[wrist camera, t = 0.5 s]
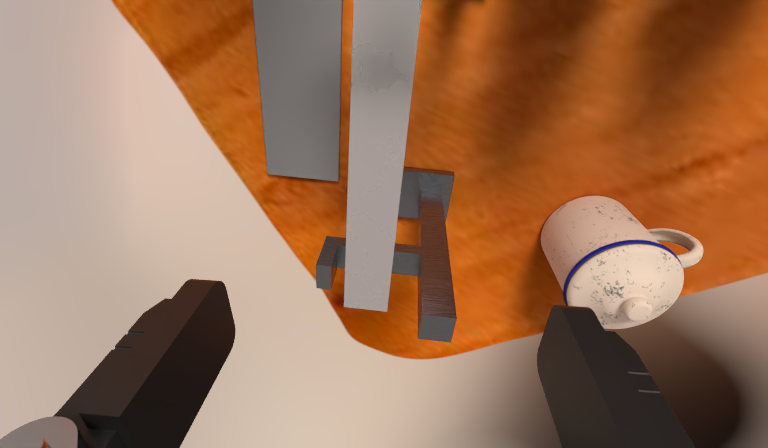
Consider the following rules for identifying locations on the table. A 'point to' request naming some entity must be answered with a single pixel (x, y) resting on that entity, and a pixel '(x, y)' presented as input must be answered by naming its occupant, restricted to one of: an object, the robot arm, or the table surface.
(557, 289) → the table surface
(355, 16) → the aluminium rail
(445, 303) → the rail stand
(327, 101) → the rubber mat
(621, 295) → the teacup with lid
